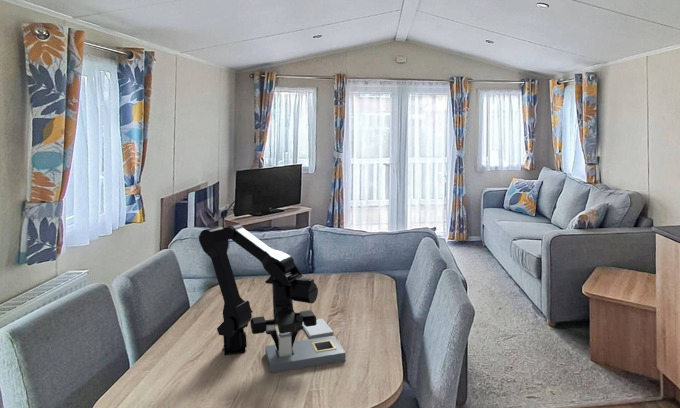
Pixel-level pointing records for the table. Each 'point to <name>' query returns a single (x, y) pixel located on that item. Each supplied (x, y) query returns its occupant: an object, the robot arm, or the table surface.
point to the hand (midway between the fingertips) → (284, 349)
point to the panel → (306, 354)
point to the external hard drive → (318, 329)
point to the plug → (284, 344)
